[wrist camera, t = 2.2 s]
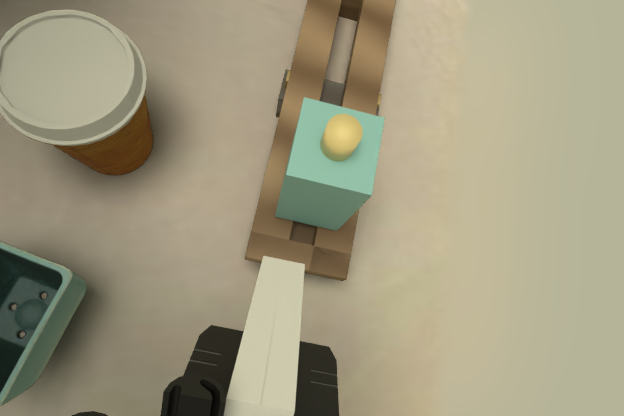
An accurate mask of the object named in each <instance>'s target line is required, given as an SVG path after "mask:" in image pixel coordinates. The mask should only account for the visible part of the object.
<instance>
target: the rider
mask: <svg viewBox="0 0 624 416" xmlns="http://www.w3.org/2000/svg"><path fill="white" fill-rule="evenodd" d="M384 119H385V118H383V117H380V116H376V115H372V114H368V113H364V112H360V111H356V110H352V109H348V108H344V107H341V106H337V105H333V104H329V103H325V102H321V101H317V100H313V99H309V98H305V97H304V99H303V103H302V107H301V111H300V115H299V119H298V122H297V126H296V130H295V134H294V138H293V142H292V146H291V150H290V153H289V157H288V162H287V166H286V170H285V174H284V179H283V183H282V187H281V192H280V196H279V200H278V205H277V209H276V213H275V217H279V218H283V219H287V220H292V221H296V222H300V223H305V224H309V225H313V226H318V227H322V228H326V229H331V230H335V231H337V230H338V229H339V228H340V227H341V226H342V225H343V224H344V223H345V222H346V221H347V220H348V219H349V218H350V217H351V216H352V215H353V214H354V213H355V212H356V211H357V210H358V209H359V208H360V207H361V206H362V205H363V204H364V203H365V201H366V200H367V199H368V198H369V197H370V196H371V195H372V190H373V184H374V178H375V172H376V166H377V160H378V154H379V149H380V143H381V137H382V131H383V125H384Z"/></svg>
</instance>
